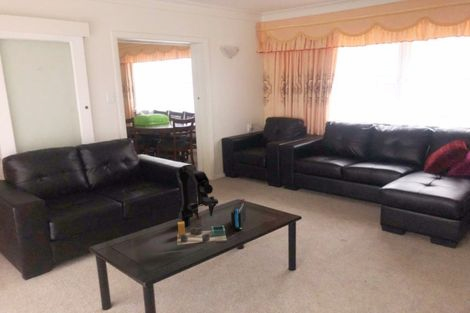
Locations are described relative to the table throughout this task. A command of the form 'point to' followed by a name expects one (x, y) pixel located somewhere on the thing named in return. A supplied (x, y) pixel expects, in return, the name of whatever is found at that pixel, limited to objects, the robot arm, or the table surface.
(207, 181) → the robot arm
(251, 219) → the table surface
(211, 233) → the board
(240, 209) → the game console
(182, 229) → the plug block
